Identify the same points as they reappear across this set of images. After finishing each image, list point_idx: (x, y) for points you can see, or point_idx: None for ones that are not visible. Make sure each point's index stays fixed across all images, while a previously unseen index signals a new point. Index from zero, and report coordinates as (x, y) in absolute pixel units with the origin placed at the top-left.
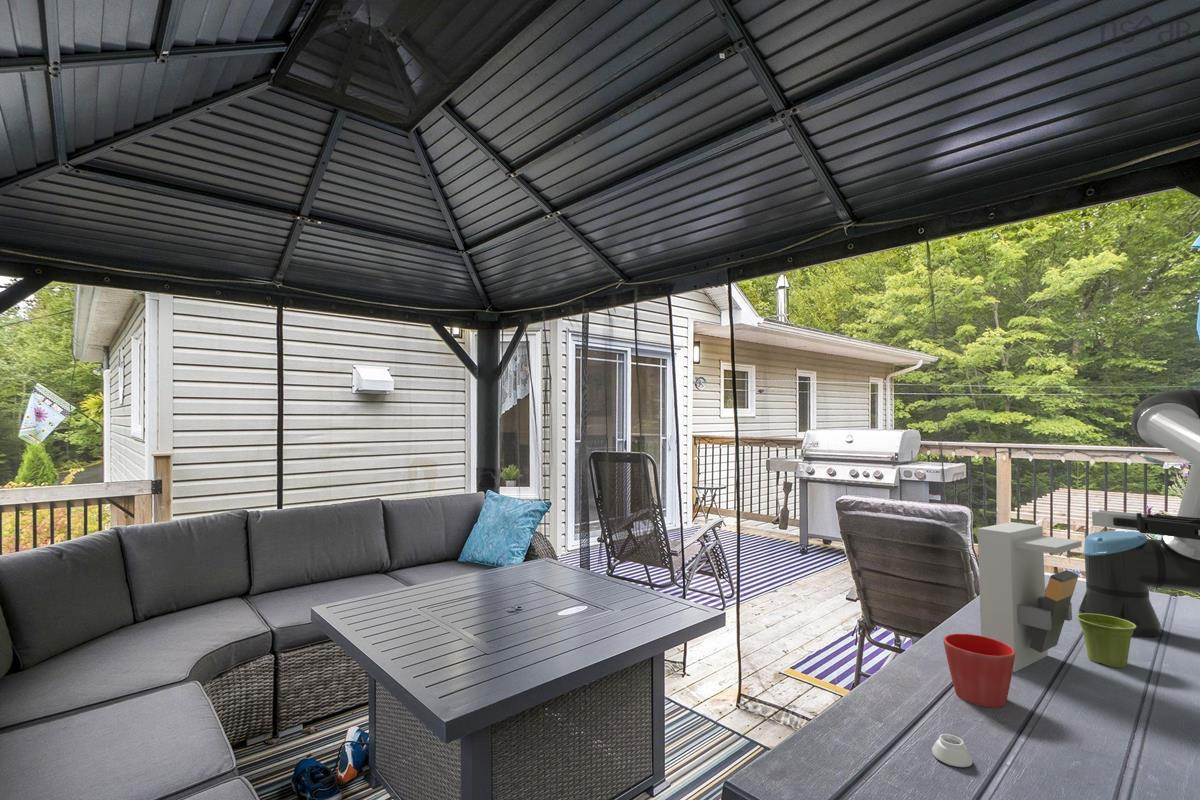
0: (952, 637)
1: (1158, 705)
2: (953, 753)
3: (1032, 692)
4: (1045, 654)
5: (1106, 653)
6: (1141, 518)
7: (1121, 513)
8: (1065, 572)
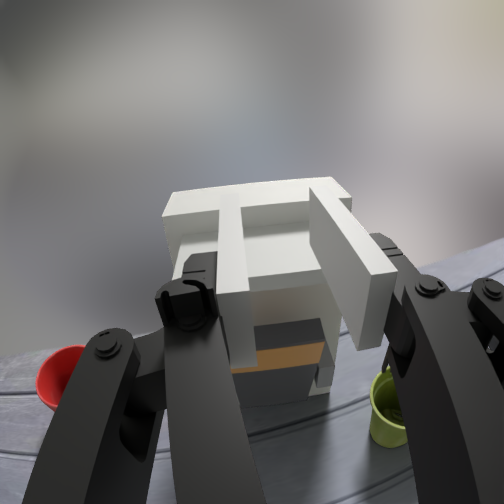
0: (83, 349)
1: None
2: None
3: (160, 441)
4: (321, 392)
5: (374, 431)
6: (101, 339)
7: (333, 226)
8: (296, 325)
